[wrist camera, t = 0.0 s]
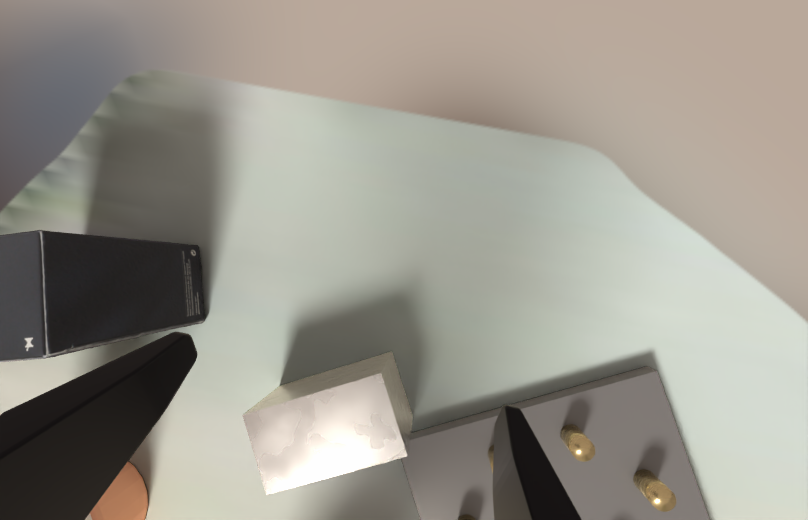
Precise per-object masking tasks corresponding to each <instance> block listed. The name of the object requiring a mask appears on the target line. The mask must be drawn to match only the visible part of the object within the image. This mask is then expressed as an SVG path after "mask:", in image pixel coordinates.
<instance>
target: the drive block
mask: <svg viewBox="0 0 808 520" xmlns="http://www.w3.org/2000/svg"><path fill="white" fill-rule="evenodd" d="M243 418H244V422H245V425H246V428H247V432H248V435H249V438H250V442H251V445H252V448H253V451H254V455H255V458H256V461H257V465H258V468H259V471H260V475H261V478H262V481H263V485H264V488H265V491H266V494H267V495H269V494H272V493H276V492H280V491H283V490H287V489H290V488H294V487H298V486H301V485H305V484H309V483H312V482H316V481H319V480H323V479H327V478H330V477H334V476H338V475H341V474H345V473H348V472H352V471H356V470H359V469H363V468H366V467H370V466H374V465H377V464H381V463H385V462H388V461H392V460H395V459H399V458H403V457H406V456H408V450H409V443H410V436H411V429H412V422H413V415H412V412H411V409H410V406H409V402H408V399H407V396H406V393H405V390H404V387H403V384H402V381H401V378H400V375H399V372H398V368H397V365H396V362H395V359H394V356H393V353H392V351H391V352H387V353H384V354H381V355H378V356H374V357H371V358H368V359H365V360H361V361H358V362H355V363H352V364H348V365H345V366H342V367H339V368H335V369H332V370H329V371H326V372H322V373H319V374H316V375H313V376H309V377H306V378H303V379H300V380H297V381H293V382H290V383H287V384H284V385H280V386H279V387H277V388H276V389H275V390H274V391H272V392H271V393H270V394H269V395H267V396H266V397H265V398H263V399H262V400H261V401H260V402H258V403H257V404H256V405H255V406H253V407H252V408H251V409H249V410H248V411H247V412H246V413H244V414H243Z"/></svg>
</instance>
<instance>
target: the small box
mask: <svg viewBox="0 0 808 520" xmlns="http://www.w3.org/2000/svg"><path fill="white" fill-rule="evenodd" d="M203 303H204V302H203V294H202V279H201V262H200V254H199V247H198V246H197V245H188V244H178V243H167V242H158V241H146V240H136V239H125V238H114V237H104V236H93V235H83V234H72V233H61V232H50V231H43V230H37V231H30V232H22V233H15V234H7V235H0V362H9V361H20V360H32V359H45V358H49V357H55V356H59V355H63V354H67V353H72V352H76V351H80V350H84V349H88V348H93V347H98V346H101V345H106V344H109V343H114V342H119V341H124V340H127V339H132V338H137V337H139V336H142V335H148V334H152V333H157V332H161V331H166V330H170V329H175V328H180V327H186V326H190V325H195V324H200V323H203V322H204V321H205V312H204V306H203Z"/></svg>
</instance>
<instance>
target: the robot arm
mask: <svg viewBox="0 0 808 520" xmlns="http://www.w3.org/2000/svg"><path fill="white" fill-rule="evenodd" d="M196 358H197V351H196V348H195V345H194V342H193V339H192V337H191V335H189V334H186V333H181V332H173V333H171V334H169V335H166V336H164V337H162V338H160V339H158V340H156V341H154V342H152V343H150V344H147V345H145V346H143V347H141V348H139V349H137V350H135V351H133V352H131V353H128V354H126V355H124V356H122V357H120V358H118V359H116V360H114V361H111V362H109V363H107V364H105V365H103V366H101V367H99V368H97V369H95V370H92V371H90V372H88V373H86V374H84V375H82V376H80V377H78V378H76V379H73V380H71V381H69V382H67V383H65V384H63V385H61V386H59V387H57V388H54V389H52V390H50V391H48V392H46V393H44V394H42V395H40V396H38V397H35V398H33V399H31V400H29V401H27V402H25V403H23V404H21V405H18V406H16V407H14V408H12V409H10V410H8V411H6V412H4V413H2V414H1V415H0V520H85V519H86V518H87V516H88V515H89V513H90V512H91V511H92V509H93V508H94V507H95V505H96V504H97V503H98V501H99V500H100V499H101V497H102V496H103V495H104V493H105V492H106V490H107V489H108V488H109V486H110V485H111V484H112V482H113V481H114V480H115V478H116V477H117V476H118V474H119V473H120V471H121V470H122V469H123V467H124V466H125V465H126V463H127V462H128V461H129V459H130V458H131V457H132V455H133V454H134V453H135V451H136V450H137V448H138V447H139V446H140V444H141V443H142V442H143V440H144V439H145V438H146V436H147V435H148V434H149V432H150V431H151V429H152V428H153V427H154V425H155V424H156V423H157V421H158V420H159V419H160V417H161V416H162V414H163V413H164V412H165V410H166V409H167V407H168V405H169V404H170V402H171V401H172V399H173V397H174V396H175V394H176V392H177V391H178V389H179V388H180V386H181V384H182V383H183V381H184V379H185V378H186V376H187V374H188V373H189V371H190V369H191V368H192V366H193V364H194V363H195V361H196ZM493 508H494V520H582V519H581V517H580V515H579V513H578V512H577V510H576V508H575V506H574V504H573V503H572V501H571V499H570V497H569V495H568V493H567V492H566V490H565V488H564V486H563V484H562V483H561V481H560V479H559V477H558V475H557V474H556V472H555V470H554V468H553V466H552V465H551V463H550V461H549V459H548V457H547V456H546V454H545V452H544V450H543V448H542V447H541V445H540V443H539V441H538V439H537V437H536V436H535V434H534V432H533V430H532V428H531V427H530V425H529V423H528V421H527V419H526V418H525V416H524V414H523V412H522V411H521V409H520V408H519V407H516V406H511V405H507V404H505V405H503V407H502V408H501V411H500V413H499V415H498V417H497V420H496V422H495V428H494V455H493Z"/></svg>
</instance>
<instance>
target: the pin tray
mask: <svg viewBox="0 0 808 520" xmlns="http://www.w3.org/2000/svg"><path fill="white" fill-rule="evenodd" d="M511 406H516V407H519V408H520V409H521V411H522V412H523V414H524V416H525V418H526V419H527V421H528V423H529V425H530V427H531V428H532V430H533V432H534V434H535V436H536V437H537V439H538V441H539V443H540V445H541V447H542V448H543V450H544V452H545V454H546V456H547V457H548V459H549V461H550V463H551V465H552V466H553V468H554V470H555V472H556V474H557V475H558V477H559V479H560V481H561V483H562V484H563V486H564V488H565V490H566V492H567V493H568V495H569V497H570V499H571V501H572V503H573V504H574V506H575V508H576V510H577V512H578V513H579V515H580V517H581V519H582V520H710V519H709V516H708V513H707V510H706V508H705V505H704V502H703V499H702V496H701V493H700V491H699V488H698V485H697V482H696V479H695V476H694V474H693V471H692V468H691V465H690V462H689V460H688V457H687V454H686V451H685V448H684V445H683V443H682V440H681V437H680V434H679V431H678V428H677V426H676V423H675V420H674V417H673V414H672V411H671V409H670V406H669V403H668V400H667V397H666V394H665V392H664V389H663V386H662V383H661V380H660V377H659V375H658V372H657V371H656V370H654V369H652V368H650V367H648V366H646V367H643V368H639V369H635V370H632V371H628V372H625V373H621V374H618V375H614V376H611V377H607V378H603V379H600V380H596V381H593V382H589V383H586V384H582V385H579V386H575V387H572V388H568V389H564V390H561V391H557V392H554V393H550V394H547V395H543V396H540V397H536V398H533V399H529V400H525V401H522V402H518V403H515V404H511ZM501 408H502V407H501ZM501 408H497V409H494V410H490V411H486V412H483V413H479V414H476V415H472V416H469V417H465V418H462V419H458V420H455V421H451V422H447V423H444V424H440V425H437V426H433V427H430V428H426V429H423V430H419V431H416V432H412V433H411V436H410V443H409V450H408V456H406V457H403V458H401V460H402V463H403V467H404V470H405V473H406V476H407V479H408V482H409V485H410V489H411V492H412V495H413V498H414V501H415V504H416V507H417V511H418V514H419V517H420V520H494V508H493V455H494V428H495V422H496V420H497V417H498V415H499V413H500V411H501Z"/></svg>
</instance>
